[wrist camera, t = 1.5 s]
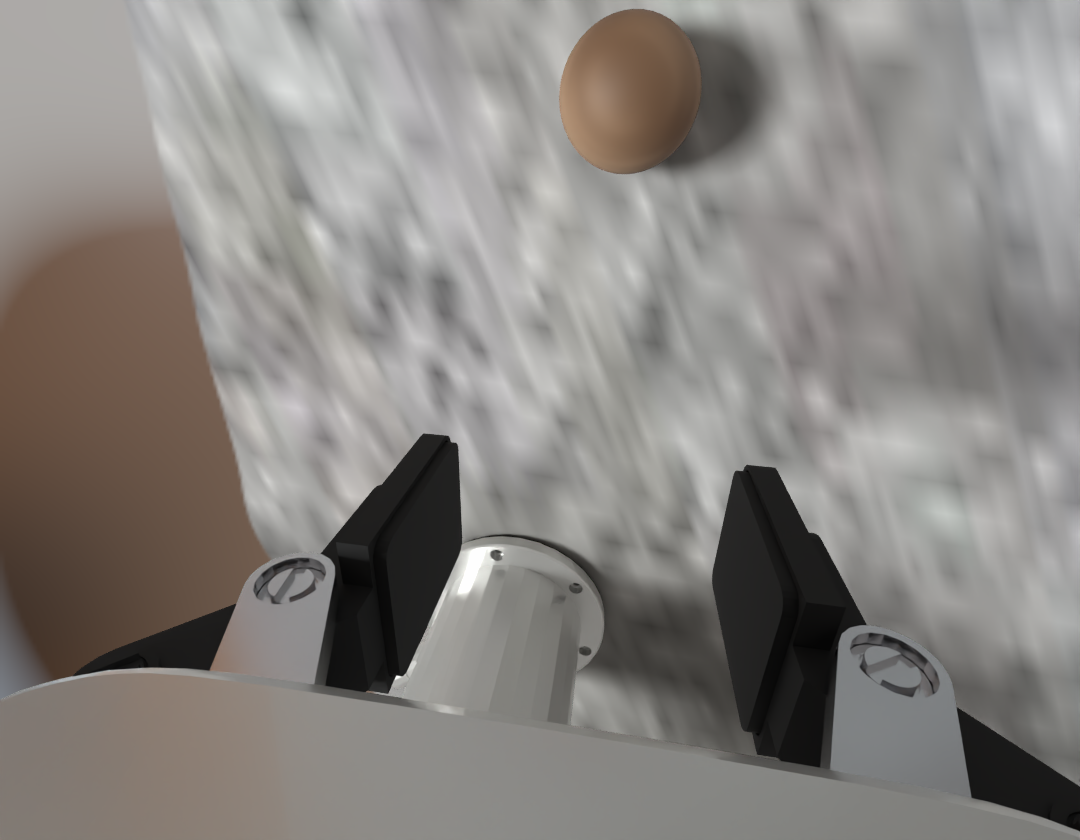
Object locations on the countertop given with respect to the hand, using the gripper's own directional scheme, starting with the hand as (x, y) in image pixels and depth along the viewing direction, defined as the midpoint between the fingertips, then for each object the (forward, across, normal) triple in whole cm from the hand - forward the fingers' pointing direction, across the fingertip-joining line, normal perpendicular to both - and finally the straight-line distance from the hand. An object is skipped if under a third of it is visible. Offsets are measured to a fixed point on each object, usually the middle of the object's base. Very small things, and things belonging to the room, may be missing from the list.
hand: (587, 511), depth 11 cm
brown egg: (+15, 0, -10) cm, 18 cm away
